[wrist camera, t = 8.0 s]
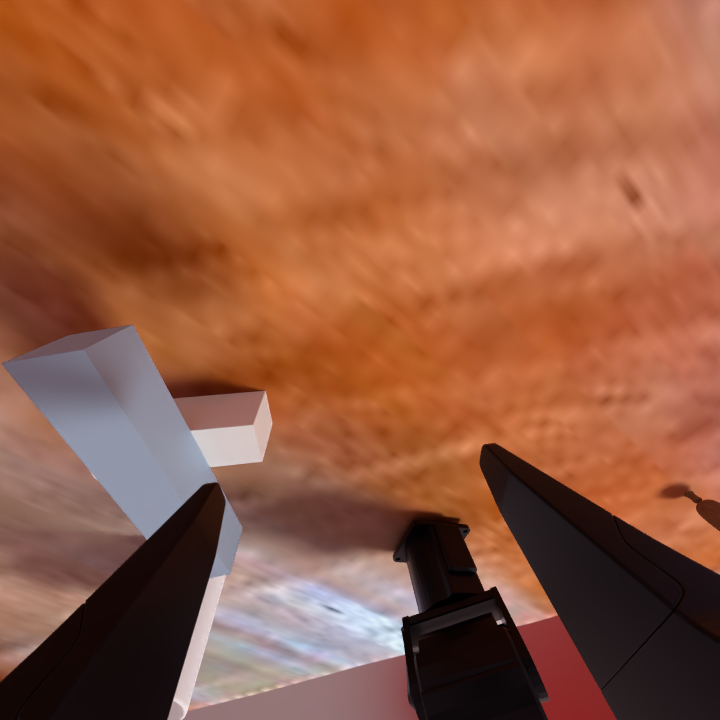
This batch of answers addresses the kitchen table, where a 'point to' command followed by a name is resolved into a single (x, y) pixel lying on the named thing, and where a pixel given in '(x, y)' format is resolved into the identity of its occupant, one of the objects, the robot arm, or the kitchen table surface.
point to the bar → (123, 426)
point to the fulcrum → (228, 426)
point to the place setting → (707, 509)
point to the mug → (196, 649)
